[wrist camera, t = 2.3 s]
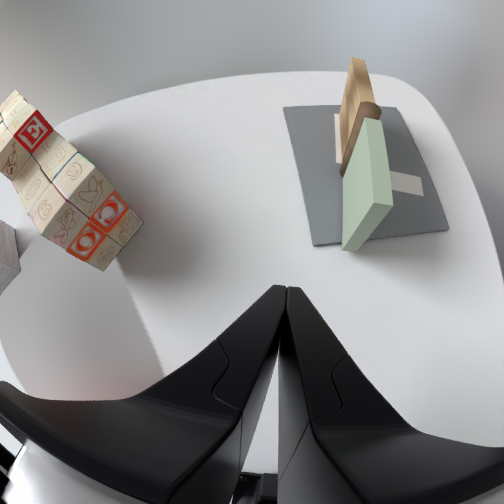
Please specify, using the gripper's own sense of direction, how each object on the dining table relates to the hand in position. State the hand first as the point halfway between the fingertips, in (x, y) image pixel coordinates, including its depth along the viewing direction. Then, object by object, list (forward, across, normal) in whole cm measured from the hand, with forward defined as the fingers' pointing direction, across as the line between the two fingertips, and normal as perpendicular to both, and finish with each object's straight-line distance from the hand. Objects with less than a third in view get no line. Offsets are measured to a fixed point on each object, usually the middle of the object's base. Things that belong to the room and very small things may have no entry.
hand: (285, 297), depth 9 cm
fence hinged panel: (+15, -5, +2) cm, 16 cm away
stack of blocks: (+17, +24, +2) cm, 29 cm away
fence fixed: (+21, -5, -3) cm, 22 cm away
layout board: (+21, -7, -2) cm, 22 cm away
